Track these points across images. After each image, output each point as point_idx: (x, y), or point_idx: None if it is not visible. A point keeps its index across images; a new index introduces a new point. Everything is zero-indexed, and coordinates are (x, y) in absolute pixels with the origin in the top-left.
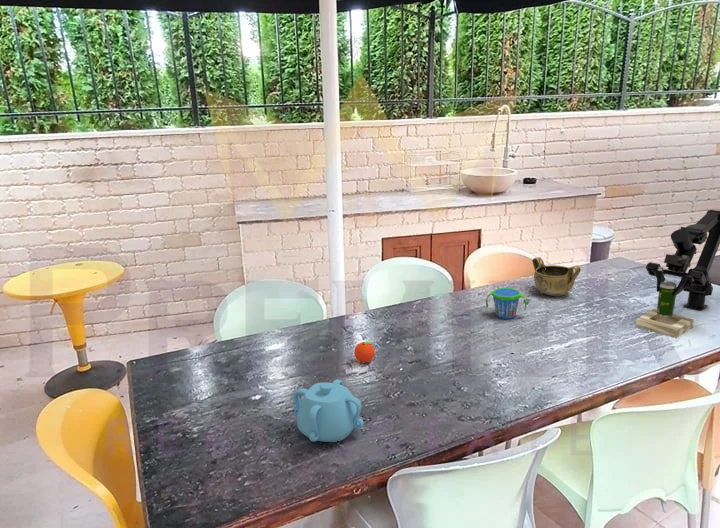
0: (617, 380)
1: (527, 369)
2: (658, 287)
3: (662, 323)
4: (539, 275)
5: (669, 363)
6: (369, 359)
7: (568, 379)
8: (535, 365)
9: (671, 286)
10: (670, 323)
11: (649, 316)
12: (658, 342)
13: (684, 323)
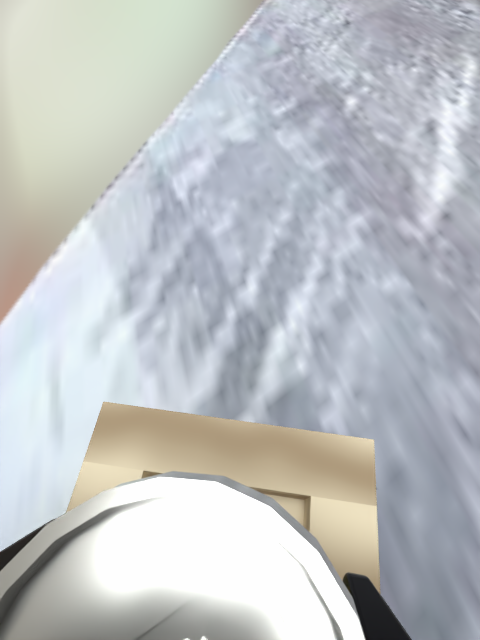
0: (226, 59)
1: (408, 20)
2: (371, 631)
3: (206, 464)
4: None
5: (124, 178)
6: None
7: (315, 26)
8: (409, 34)
9: (65, 519)
10: None
11: None
12: (190, 313)
13: None
